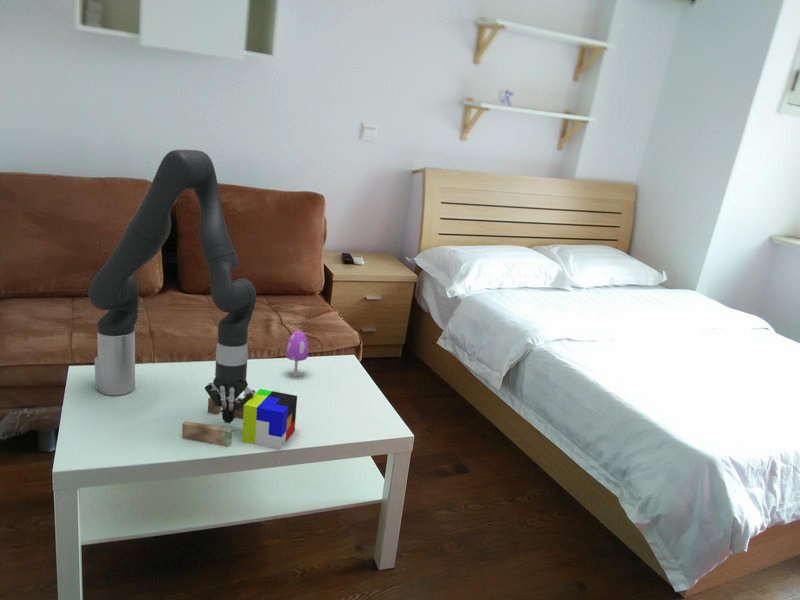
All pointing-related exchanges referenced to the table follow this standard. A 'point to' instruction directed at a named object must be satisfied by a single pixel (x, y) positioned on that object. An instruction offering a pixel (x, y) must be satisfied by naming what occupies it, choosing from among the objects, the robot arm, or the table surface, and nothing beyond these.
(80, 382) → the table surface
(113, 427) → the table surface
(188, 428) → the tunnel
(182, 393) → the table surface
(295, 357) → the toy
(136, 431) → the table surface
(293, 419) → the puzzle toy
